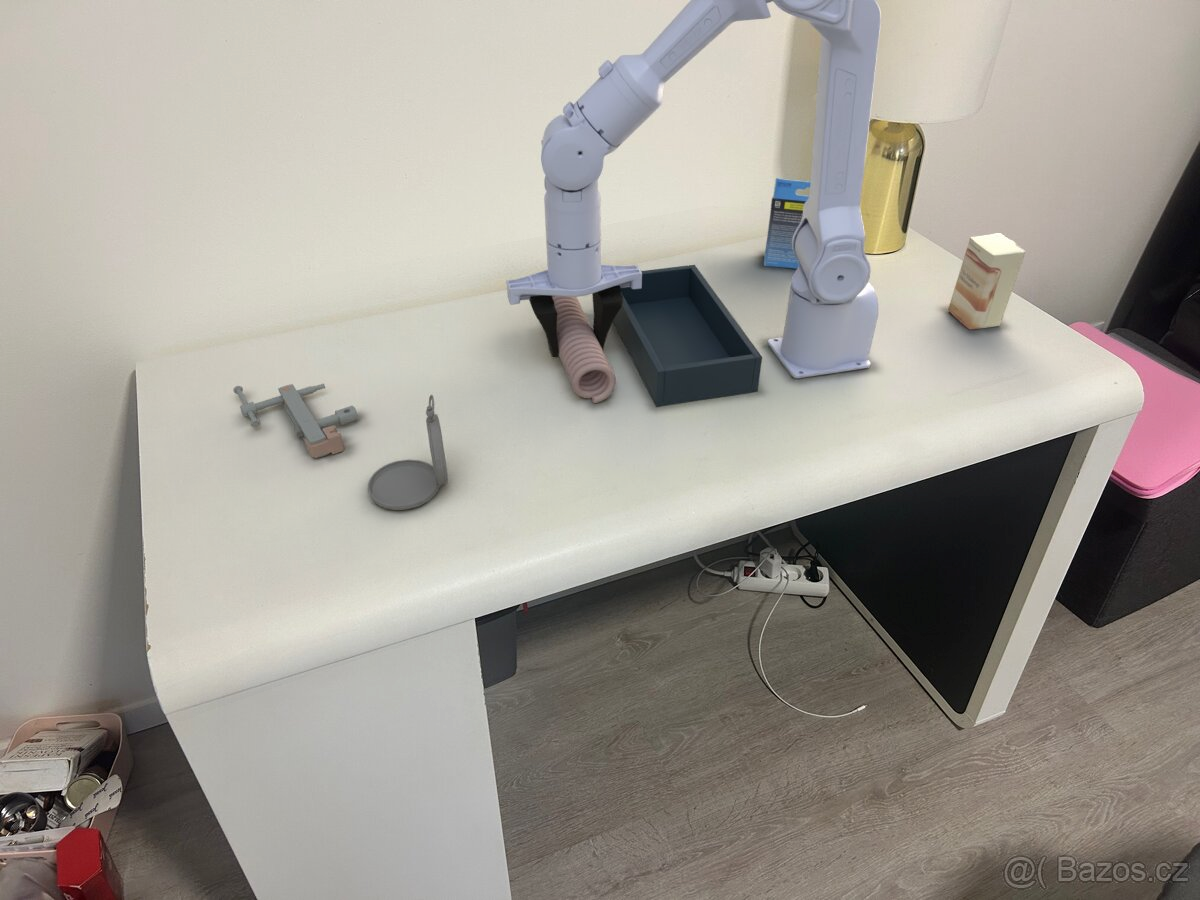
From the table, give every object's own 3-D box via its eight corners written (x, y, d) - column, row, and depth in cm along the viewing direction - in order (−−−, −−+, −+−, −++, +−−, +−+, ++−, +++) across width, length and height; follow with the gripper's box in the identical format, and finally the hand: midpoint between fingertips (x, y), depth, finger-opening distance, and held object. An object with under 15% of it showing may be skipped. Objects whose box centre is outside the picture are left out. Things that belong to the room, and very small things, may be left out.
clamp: (368, 424, 84) (268, 458, 80) (372, 441, 86) (273, 476, 82) (320, 355, 94) (228, 382, 90) (324, 371, 96) (234, 399, 92)
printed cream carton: (945, 310, 106) (967, 235, 100) (977, 306, 107) (1001, 231, 100) (969, 331, 102) (993, 254, 96) (1001, 327, 103) (1028, 250, 96)
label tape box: (829, 260, 117) (845, 173, 109) (828, 274, 114) (845, 184, 106) (765, 254, 118) (776, 167, 110) (762, 267, 115) (774, 179, 107)
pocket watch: (355, 491, 80) (334, 405, 74) (426, 450, 85) (412, 366, 78) (408, 532, 76) (390, 445, 69) (480, 486, 80) (469, 401, 74)
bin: (692, 296, 109) (694, 264, 106) (757, 391, 92) (762, 356, 90) (605, 307, 107) (605, 275, 104) (656, 407, 90) (657, 371, 87)
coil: (619, 366, 88) (579, 286, 102) (576, 369, 87) (541, 287, 101) (614, 403, 91) (575, 320, 105) (572, 406, 90) (538, 322, 103)
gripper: (630, 215, 92) (628, 323, 101) (498, 229, 90) (507, 339, 98) (649, 242, 87) (645, 354, 95) (509, 259, 84) (518, 372, 93)
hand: (576, 349), depth 96 cm, fingers closed on coil, 5 cm apart
